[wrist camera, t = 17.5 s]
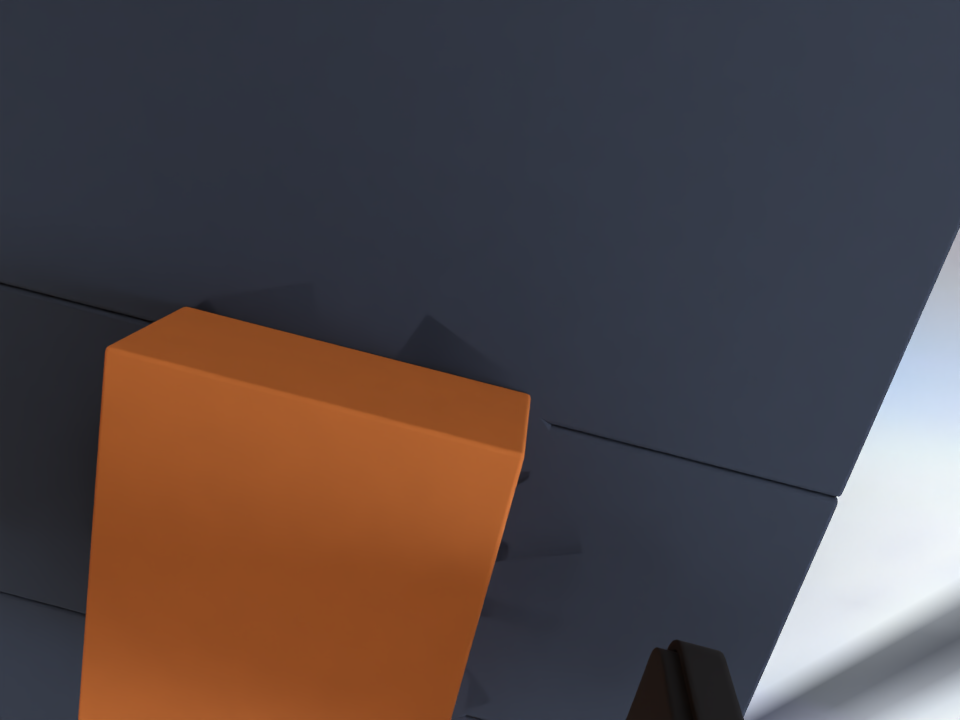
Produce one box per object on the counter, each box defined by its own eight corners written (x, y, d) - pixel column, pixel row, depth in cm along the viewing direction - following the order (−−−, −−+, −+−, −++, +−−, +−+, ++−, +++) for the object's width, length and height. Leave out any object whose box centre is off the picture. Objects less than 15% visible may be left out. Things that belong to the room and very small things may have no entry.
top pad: (250, 270, 13) (102, 346, 9) (537, 343, 13) (525, 455, 9) (211, 564, 15) (74, 741, 11) (459, 629, 15) (419, 834, 11)
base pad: (18, -452, 10) (-146, -621, 8) (1048, -210, 10) (1202, -313, 8) (-7, 629, 16) (-106, 718, 14) (639, 802, 16) (654, 925, 13)
